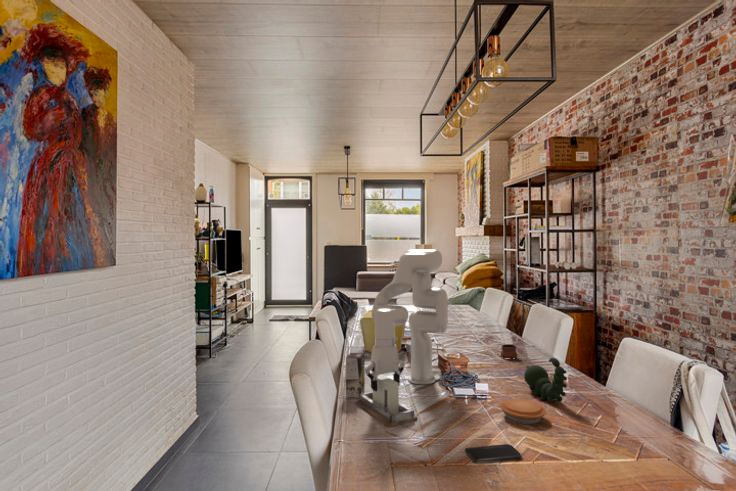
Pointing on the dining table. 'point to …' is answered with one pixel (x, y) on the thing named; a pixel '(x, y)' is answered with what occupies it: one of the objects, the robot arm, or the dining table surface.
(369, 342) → the picnic basket
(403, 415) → the grey rectangular tray
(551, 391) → the toy figurine
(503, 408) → the pie
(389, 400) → the pale green block
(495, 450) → the phone
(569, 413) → the dining table surface
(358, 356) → the coffee box
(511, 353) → the ceramic pot
